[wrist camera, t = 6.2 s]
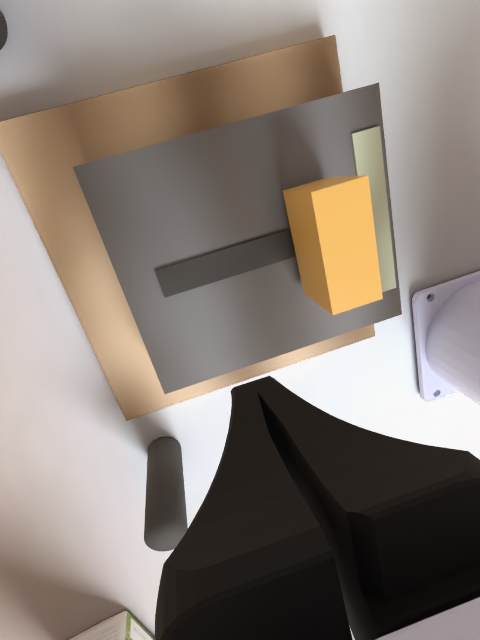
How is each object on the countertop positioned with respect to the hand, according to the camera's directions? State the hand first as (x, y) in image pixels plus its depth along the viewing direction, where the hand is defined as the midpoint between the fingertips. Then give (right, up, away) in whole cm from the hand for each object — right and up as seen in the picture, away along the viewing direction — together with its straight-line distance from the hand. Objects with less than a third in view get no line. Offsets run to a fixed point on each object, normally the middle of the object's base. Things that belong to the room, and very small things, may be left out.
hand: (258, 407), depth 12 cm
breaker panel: (-2, +7, +7) cm, 10 cm away
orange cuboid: (+3, +6, +4) cm, 8 cm away
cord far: (-5, -5, +11) cm, 13 cm away
